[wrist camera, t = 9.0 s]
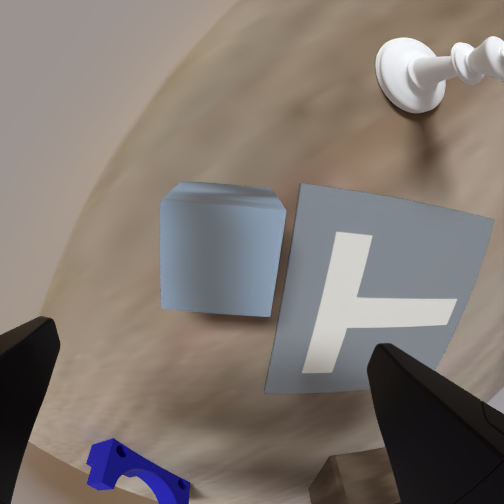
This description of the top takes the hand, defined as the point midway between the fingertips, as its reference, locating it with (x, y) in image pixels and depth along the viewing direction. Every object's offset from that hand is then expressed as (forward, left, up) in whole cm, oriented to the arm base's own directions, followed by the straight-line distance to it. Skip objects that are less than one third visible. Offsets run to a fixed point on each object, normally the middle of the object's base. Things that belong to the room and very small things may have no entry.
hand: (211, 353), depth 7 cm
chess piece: (-10, -11, -11) cm, 18 cm away
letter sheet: (-12, +5, -11) cm, 17 cm away
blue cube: (0, 0, -11) cm, 11 cm away
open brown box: (-18, +30, -11) cm, 37 cm away
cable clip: (+8, +30, -11) cm, 33 cm away
